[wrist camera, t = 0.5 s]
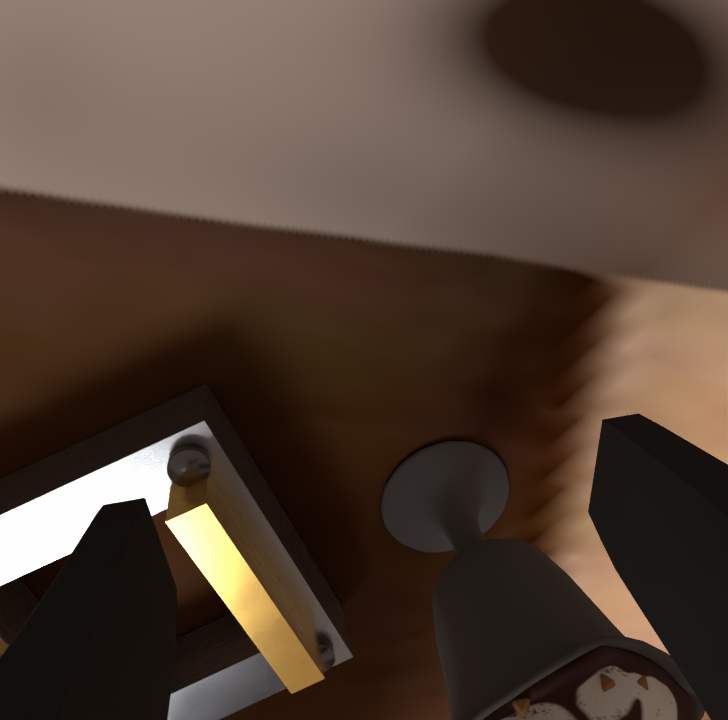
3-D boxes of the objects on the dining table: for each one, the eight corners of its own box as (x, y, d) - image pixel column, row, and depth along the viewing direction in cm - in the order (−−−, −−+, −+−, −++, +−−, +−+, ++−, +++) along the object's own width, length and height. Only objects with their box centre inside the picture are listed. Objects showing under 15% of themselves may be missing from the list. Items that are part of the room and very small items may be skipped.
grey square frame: (86, 726, 25) (64, 834, 22) (-112, 530, 20) (-184, 630, 17) (342, 606, 25) (361, 696, 22) (206, 383, 20) (202, 451, 17)
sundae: (318, 498, 23) (452, 1105, 10) (471, 384, 22) (845, 867, 9) (420, 595, 26) (631, 1167, 12) (558, 497, 25) (939, 990, 12)
